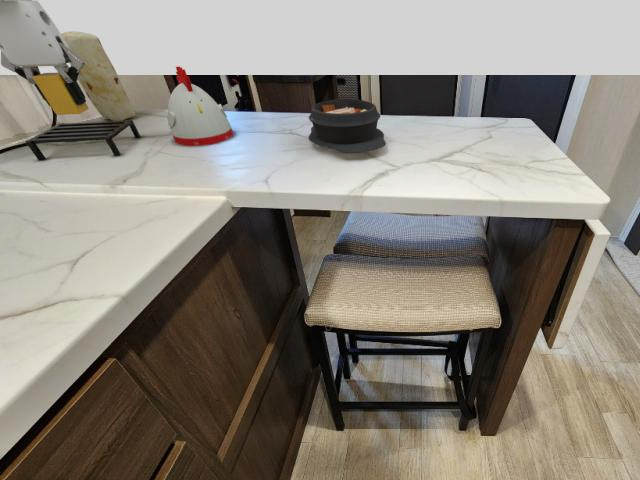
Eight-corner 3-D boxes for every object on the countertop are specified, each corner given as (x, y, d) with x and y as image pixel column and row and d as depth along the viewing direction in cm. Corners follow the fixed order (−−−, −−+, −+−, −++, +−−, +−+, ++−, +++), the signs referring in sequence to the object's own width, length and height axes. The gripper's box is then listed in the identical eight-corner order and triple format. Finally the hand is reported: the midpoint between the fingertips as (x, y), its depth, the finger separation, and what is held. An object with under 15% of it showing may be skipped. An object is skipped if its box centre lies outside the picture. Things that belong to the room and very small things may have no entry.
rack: (38, 160, 72) (24, 141, 70) (70, 140, 82) (59, 123, 80) (119, 155, 75) (108, 137, 72) (141, 136, 85) (132, 119, 82)
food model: (141, 115, 100) (101, 30, 86) (133, 121, 95) (89, 32, 81) (105, 116, 98) (58, 30, 85) (95, 123, 93) (44, 32, 80)
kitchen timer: (183, 149, 78) (152, 74, 68) (168, 135, 86) (137, 66, 75) (241, 138, 85) (220, 67, 75) (222, 126, 92) (200, 60, 82)
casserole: (296, 135, 87) (289, 99, 81) (360, 125, 94) (357, 91, 88) (330, 167, 71) (325, 124, 65) (404, 152, 78) (405, 113, 72)
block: (56, 115, 71) (31, 76, 67) (67, 109, 75) (44, 72, 70) (79, 113, 72) (57, 75, 67) (89, 108, 75) (68, 72, 71)
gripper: (63, -10, 64) (117, 98, 76) (-40, -10, 61) (34, 101, 74) (41, -10, 59) (103, 106, 71) (-73, -11, 56) (13, 110, 68)
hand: (67, 102), depth 72 cm, fingers closed on block, 4 cm apart
